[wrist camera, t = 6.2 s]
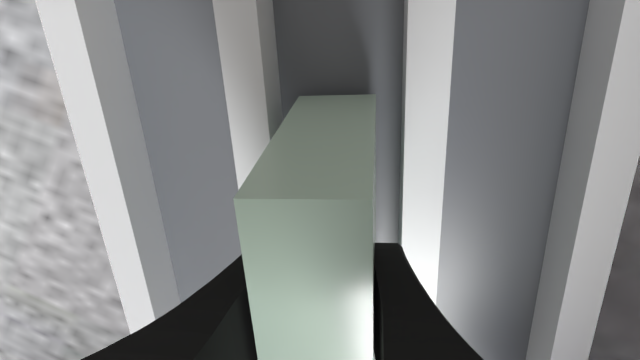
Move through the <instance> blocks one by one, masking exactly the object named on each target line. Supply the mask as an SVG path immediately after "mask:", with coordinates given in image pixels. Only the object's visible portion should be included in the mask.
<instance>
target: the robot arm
mask: <svg viewBox="0 0 640 360" xmlns="http://www.w3.org/2000/svg"><path fill="white" fill-rule="evenodd" d="M374 353H375V360H484V359H483V358H482V357H481V356H480V355H479V354H478V353H477V352H476V351H475V350H474V349H473V348H472V347H471V346H470V345H469V344H468V343H467V342H466V341H465V340H464V339H463V338H462V337H461V335H460V334H459V333H458V332H457V331H456V330H455V329H454V328H453V326H452V325H451V324H450V323H449V322H448V320H447V319H446V318H445V317H444V315H443V314H442V313H441V311H440V310H439V309H438V307H437V306H436V305H435V303H434V302H433V301H432V299H431V298H430V296H429V295H428V293H427V292H426V290H425V289H424V287H423V286H422V284H421V283H420V281H419V280H418V278H417V276H416V275H415V273H414V271H413V269H412V267H411V266H410V264H409V262H408V260H407V258H406V256H405V253H404V251H403V248H402V246H401V245H400V244H399V243H375V249H374ZM81 360H258V358H257V351H256V345H255V338H254V331H253V325H252V318H251V312H250V305H249V299H248V292H247V285H246V279H245V272H244V266H243V259H242V254H241V255H240V256H239V257H238V258H237V259H236V260H235V261H233V262H232V263H231V264H230V265H229V266H228V267H226V268H225V269H224V270H223V271H222V272H220V273H219V274H218V275H217V276H216V277H215V278H213V279H212V280H211V281H210V282H208V283H207V284H206V285H204V286H203V287H202V288H200V289H199V290H198V291H196V292H195V293H194V294H192V295H191V296H190V297H189V298H187V299H186V300H185V301H183V302H182V303H180V304H179V305H178V306H176V307H175V308H173V309H172V310H170V311H169V312H167V313H166V314H164V315H163V316H161V317H159V318H158V319H156V320H155V321H153V322H151V323H150V324H148V325H147V326H145V327H143V328H141V329H140V330H138V331H136V332H134V333H132V334H130V335H129V336H127V337H125V338H123V339H121V340H119V341H117V342H115V343H114V344H112V345H110V346H108V347H106V348H104V349H102V350H100V351H98V352H96V353H94V354H92V355H90V356H88V357H85V358H83V359H81Z"/></svg>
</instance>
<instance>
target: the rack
mask: <svg viewBox="0 0 640 360" xmlns="http://www.w3.org/2000/svg"><path fill="white" fill-rule="evenodd" d="M35 2H36V6H37V9H38V13H39V16H40V20H41V23H42V27H43V30H44V34H45V37H46V41H47V44H48V48H49V51H50V55H51V58H52V62H53V65H54V69H55V72H56V76H57V79H58V83H59V86H60V90H61V93H62V97H63V100H64V104H65V107H66V111H67V114H68V117H69V121H70V124H71V128H72V131H73V135H74V138H75V142H76V145H77V149H78V152H79V156H80V159H81V163H82V166H83V170H84V173H85V177H86V180H87V184H88V187H89V191H90V194H91V198H92V201H93V205H94V208H95V212H96V215H97V219H98V222H99V226H100V229H101V233H102V236H103V240H104V243H105V247H106V250H107V254H108V257H109V261H110V264H111V268H112V271H113V275H114V278H115V282H116V285H117V289H118V292H119V296H120V299H121V303H122V306H123V310H124V313H125V317H126V320H127V324H128V327H129V331H130V334H132V333H134V332H136V331H138V330H140V329H141V328H143V327H145V326H147V325H148V324H150V323H151V322H153V321H155V320H156V319H158V318H159V317H161V316H163V315H164V314H166V313H167V312H169V311H170V310H172V309H173V308H175V307H176V306H178V305H179V304H180V303H182V302H183V301H185V300H186V299H187V298H189V297H190V296H191V295H192V294H194V293H195V292H196V291H198V290H199V289H200V288H202V287H203V286H204V285H206V284H207V283H208V282H210V281H211V280H212V279H213V278H215V277H216V276H217V275H218V274H219V273H220V272H222V271H223V270H224V269H225V268H226V267H228V266H229V265H230V264H231V263H232V262H233V261H235V260H236V259H237V258H238V257H239V256H240V255H241V254H242V253H241V246H240V239H239V233H238V226H237V220H236V213H235V207H234V200H233V198H234V197H235V195H236V194H237V192H238V190H239V189H240V187H241V186H242V184H243V183H244V181H245V180H246V178H247V176H248V175H249V173H250V172H251V170H252V169H253V167H254V165H255V164H256V162H257V161H258V159H259V158H260V156H261V155H262V153H263V151H264V150H265V148H266V147H267V145H268V144H269V142H270V141H271V139H272V137H273V136H274V134H275V133H276V131H277V130H278V128H279V127H280V125H281V123H282V122H283V120H284V119H285V117H286V116H287V114H288V113H289V111H290V109H291V108H292V106H293V105H294V103H295V102H296V100H297V98H298V97H299V96H321V95H365V94H376V243H399V244H400V245H401V246H402V248H403V251H404V253H405V256H406V258H407V260H408V262H409V264H410V266H411V267H412V269H413V271H414V273H415V275H416V276H417V278H418V280H419V281H420V283H421V284H422V286H423V287H424V289H425V290H426V292H427V293H428V295H429V296H430V298H431V299H432V301H433V302H434V303H435V305H436V306H437V307H438V309H439V310H440V311H441V313H442V314H443V315H444V317H445V318H446V319H447V320H448V322H449V323H450V324H451V325H452V326H453V328H454V329H455V330H456V331H457V332H458V333H459V334H460V335H461V337H462V338H463V339H464V340H465V341H466V342H467V343H468V344H469V345H470V346H471V347H472V348H473V349H474V350H475V351H476V352H477V353H478V354H479V355H480V356H481V357H482V358H483V359H484V360H588V357H589V353H590V349H591V345H592V342H593V338H594V334H595V330H596V326H597V322H598V318H599V314H600V310H601V306H602V302H603V298H604V294H605V290H606V286H607V282H608V278H609V274H610V270H611V267H612V263H613V259H614V255H615V251H616V247H617V243H618V239H619V235H620V231H621V227H622V223H623V219H624V215H625V211H626V207H627V203H628V199H629V196H630V192H631V188H632V184H633V180H634V176H635V172H636V168H637V164H638V160H639V156H640V0H35Z"/></svg>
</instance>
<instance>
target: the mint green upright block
mask: <svg viewBox="0 0 640 360" xmlns="http://www.w3.org/2000/svg"><path fill="white" fill-rule="evenodd" d="M233 200H234V207H235V213H236V220H237V226H238V233H239V239H240V246H241V253H242V259H243V266H244V272H245V279H246V285H247V292H248V299H249V305H250V312H251V318H252V325H253V331H254V338H255V345H256V351H257V358H258V360H375V353H374V249H375V243H376V94H365V95H321V96H299V97H298V98H297V100H296V102H295V103H294V105H293V106H292V108H291V109H290V111H289V113H288V114H287V116H286V117H285V119H284V120H283V122H282V123H281V125H280V127H279V128H278V130H277V131H276V133H275V134H274V136H273V137H272V139H271V141H270V142H269V144H268V145H267V147H266V148H265V150H264V151H263V153H262V155H261V156H260V158H259V159H258V161H257V162H256V164H255V165H254V167H253V169H252V170H251V172H250V173H249V175H248V176H247V178H246V180H245V181H244V183H243V184H242V186H241V187H240V189H239V190H238V192H237V194H236V195H235V197H234V198H233Z"/></svg>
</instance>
